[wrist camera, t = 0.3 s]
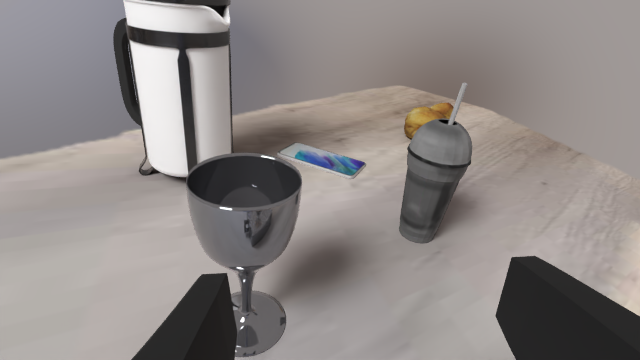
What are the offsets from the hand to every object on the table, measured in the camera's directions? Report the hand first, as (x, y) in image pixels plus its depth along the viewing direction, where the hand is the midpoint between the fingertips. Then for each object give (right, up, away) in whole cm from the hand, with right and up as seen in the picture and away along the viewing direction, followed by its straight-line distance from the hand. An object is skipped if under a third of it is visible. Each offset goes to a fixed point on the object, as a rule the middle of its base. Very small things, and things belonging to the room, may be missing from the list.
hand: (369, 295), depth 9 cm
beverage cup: (+11, -4, +37) cm, 39 cm away
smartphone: (-1, +6, +54) cm, 55 cm away
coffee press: (-23, +5, +46) cm, 52 cm away
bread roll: (+21, +12, +69) cm, 73 cm away
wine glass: (-8, -10, +23) cm, 26 cm away
